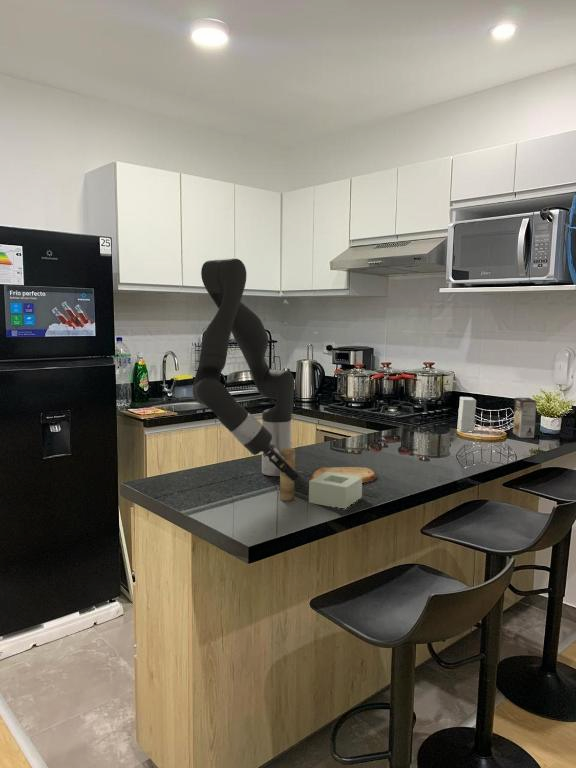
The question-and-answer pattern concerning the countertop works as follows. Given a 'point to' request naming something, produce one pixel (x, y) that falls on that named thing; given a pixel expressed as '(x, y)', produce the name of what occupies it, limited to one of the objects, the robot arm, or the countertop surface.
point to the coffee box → (524, 417)
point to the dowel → (285, 481)
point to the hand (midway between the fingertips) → (293, 475)
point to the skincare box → (466, 414)
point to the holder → (335, 490)
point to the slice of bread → (349, 472)
